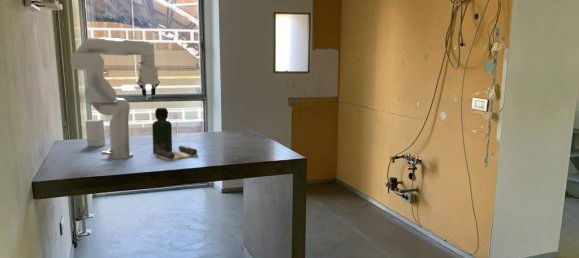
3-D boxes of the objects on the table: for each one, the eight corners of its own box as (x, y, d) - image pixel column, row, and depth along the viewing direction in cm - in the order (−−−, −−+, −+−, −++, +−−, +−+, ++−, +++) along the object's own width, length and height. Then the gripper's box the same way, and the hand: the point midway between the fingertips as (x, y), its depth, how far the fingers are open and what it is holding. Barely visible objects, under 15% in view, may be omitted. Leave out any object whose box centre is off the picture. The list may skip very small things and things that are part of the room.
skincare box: (105, 144, 265) (104, 119, 262) (99, 147, 258) (98, 121, 256) (92, 144, 266) (91, 119, 263) (86, 146, 259) (84, 120, 257)
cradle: (168, 160, 227) (168, 153, 227) (155, 156, 237) (155, 149, 236) (198, 155, 240) (197, 148, 240) (184, 151, 250) (183, 145, 249)
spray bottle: (166, 154, 243) (165, 109, 239) (149, 153, 245) (148, 109, 241) (175, 150, 253) (174, 107, 249) (158, 149, 255) (157, 107, 251)
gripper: (136, 64, 242) (138, 96, 245) (164, 64, 254) (165, 95, 257) (130, 63, 247) (131, 95, 250) (157, 63, 259) (158, 94, 262)
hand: (148, 95), depth 253 cm, fingers open, 4 cm apart
